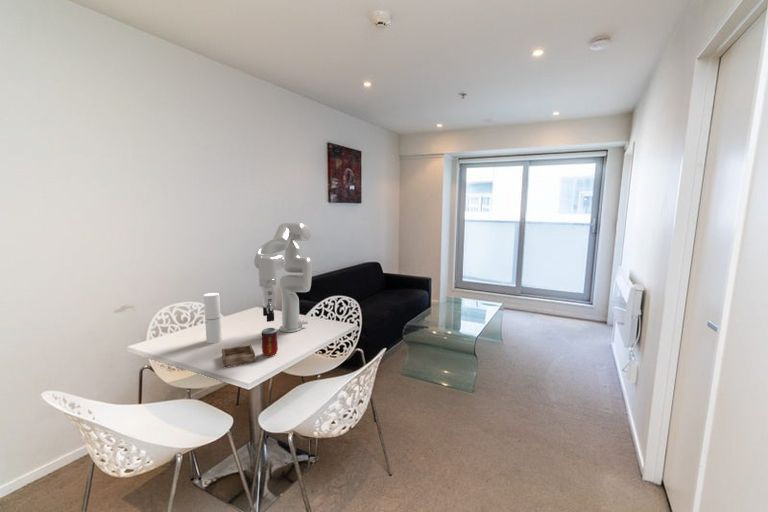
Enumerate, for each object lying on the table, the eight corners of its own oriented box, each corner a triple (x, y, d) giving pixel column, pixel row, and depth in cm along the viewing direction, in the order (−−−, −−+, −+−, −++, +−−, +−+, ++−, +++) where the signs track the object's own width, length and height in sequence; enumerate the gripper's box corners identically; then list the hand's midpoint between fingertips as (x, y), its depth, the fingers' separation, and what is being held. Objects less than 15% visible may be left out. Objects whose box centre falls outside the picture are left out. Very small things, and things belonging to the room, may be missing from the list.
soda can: (275, 349, 168) (274, 326, 166) (279, 354, 162) (279, 330, 161) (260, 353, 164) (259, 328, 162) (264, 358, 158) (263, 333, 157)
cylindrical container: (215, 343, 174) (212, 296, 171) (203, 342, 176) (200, 295, 172) (224, 338, 181) (222, 293, 178) (212, 337, 183) (210, 292, 179)
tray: (251, 351, 166) (251, 344, 166) (255, 361, 155) (255, 354, 154) (222, 356, 160) (221, 349, 160) (223, 367, 149) (223, 360, 148)
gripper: (279, 285, 152) (280, 322, 155) (272, 278, 168) (273, 312, 170) (262, 287, 149) (263, 324, 151) (256, 280, 164) (257, 314, 166)
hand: (268, 318), depth 160 cm, fingers open, 9 cm apart
